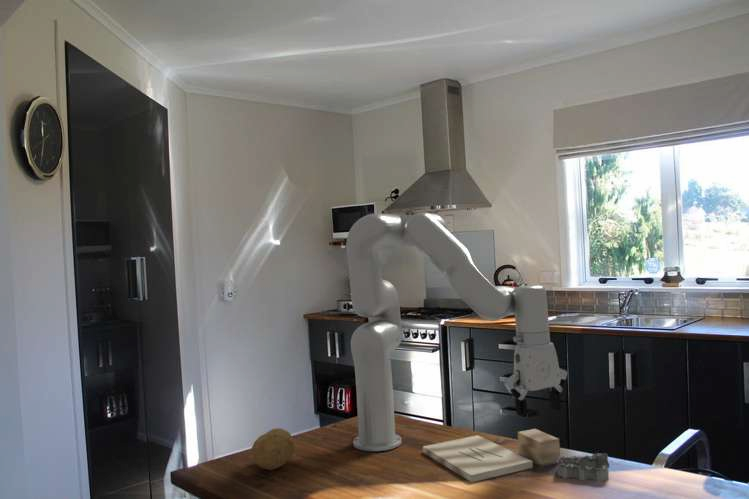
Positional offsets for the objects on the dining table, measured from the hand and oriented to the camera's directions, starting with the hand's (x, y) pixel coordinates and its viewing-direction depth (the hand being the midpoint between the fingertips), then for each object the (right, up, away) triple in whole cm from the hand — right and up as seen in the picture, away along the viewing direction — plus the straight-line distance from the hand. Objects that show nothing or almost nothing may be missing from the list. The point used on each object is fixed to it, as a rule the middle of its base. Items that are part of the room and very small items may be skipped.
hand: (539, 412), depth 137 cm
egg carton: (+6, -11, -10) cm, 16 cm away
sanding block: (0, -11, 0) cm, 11 cm away
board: (-15, -12, +1) cm, 19 cm away
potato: (-62, -14, +4) cm, 64 cm away
